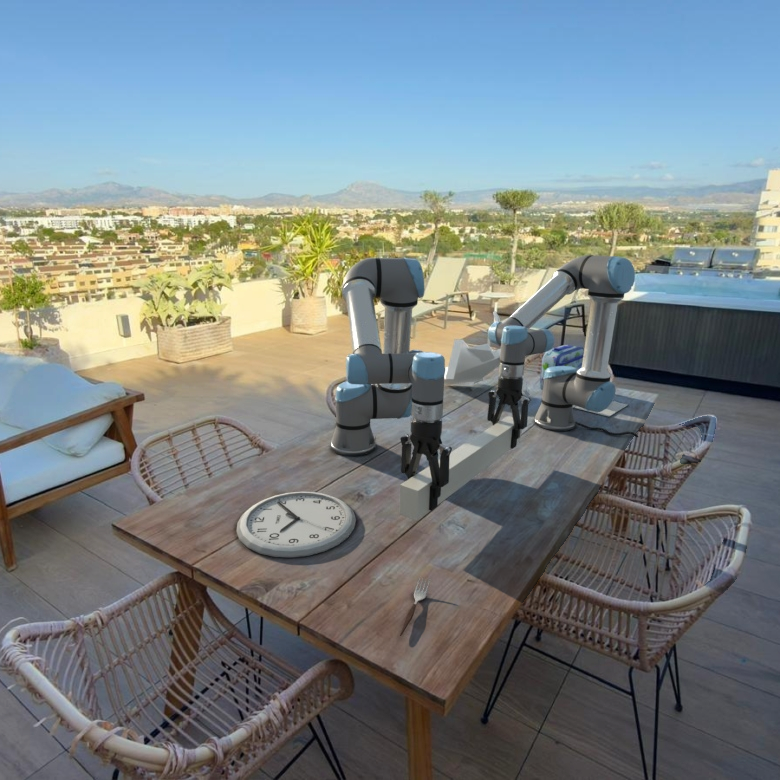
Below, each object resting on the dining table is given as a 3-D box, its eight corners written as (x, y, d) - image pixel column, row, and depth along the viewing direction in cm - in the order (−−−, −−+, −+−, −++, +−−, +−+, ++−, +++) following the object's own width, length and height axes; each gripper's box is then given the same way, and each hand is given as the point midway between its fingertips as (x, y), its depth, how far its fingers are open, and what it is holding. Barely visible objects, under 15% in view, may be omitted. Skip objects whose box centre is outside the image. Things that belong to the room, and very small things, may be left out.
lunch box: (556, 397, 237) (562, 352, 231) (535, 392, 244) (540, 348, 238) (583, 386, 255) (589, 344, 248) (562, 381, 262) (567, 340, 256)
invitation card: (608, 416, 214) (573, 407, 224) (608, 416, 214) (573, 408, 224) (628, 404, 229) (594, 396, 238) (628, 405, 229) (594, 397, 238)
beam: (505, 438, 177) (507, 415, 174) (520, 442, 174) (522, 419, 171) (399, 514, 128) (399, 484, 126) (416, 521, 125) (417, 491, 123)
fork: (393, 636, 97) (393, 627, 97) (418, 584, 112) (419, 576, 111) (406, 640, 96) (407, 631, 96) (430, 587, 111) (430, 579, 110)
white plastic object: (461, 429, 252) (437, 405, 227) (444, 352, 274) (420, 323, 250) (535, 404, 240) (518, 377, 215) (510, 326, 262) (492, 293, 237)
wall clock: (357, 549, 121) (224, 553, 118) (357, 555, 121) (224, 559, 118) (354, 487, 149) (247, 489, 147) (354, 492, 150) (247, 495, 147)
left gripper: (386, 413, 127) (385, 498, 134) (451, 431, 117) (446, 522, 124) (404, 405, 133) (402, 488, 140) (468, 422, 122) (462, 510, 129)
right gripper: (478, 373, 165) (474, 441, 172) (533, 384, 155) (526, 456, 162) (490, 368, 171) (485, 434, 178) (543, 378, 160) (536, 448, 167)
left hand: (423, 504), depth 132 cm, fingers closed on beam, 5 cm apart
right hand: (504, 444), depth 170 cm, fingers closed on beam, 5 cm apart
